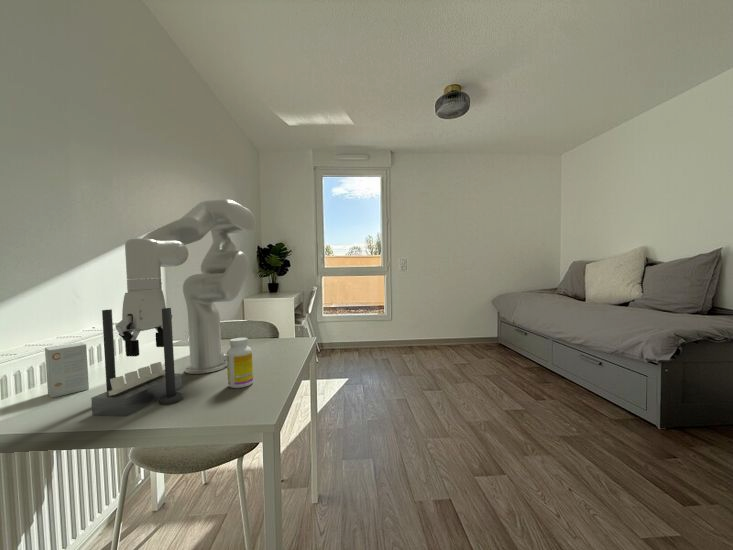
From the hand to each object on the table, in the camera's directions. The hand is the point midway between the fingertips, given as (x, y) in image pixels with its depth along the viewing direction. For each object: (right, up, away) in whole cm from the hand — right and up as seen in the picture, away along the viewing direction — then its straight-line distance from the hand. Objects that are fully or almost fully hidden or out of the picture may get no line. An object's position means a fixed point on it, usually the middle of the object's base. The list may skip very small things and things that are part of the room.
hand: (148, 351), depth 88 cm
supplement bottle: (+22, -11, +6) cm, 25 cm away
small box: (-26, -13, +6) cm, 30 cm away
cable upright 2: (+8, -12, -4) cm, 15 cm away
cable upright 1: (-8, -12, -2) cm, 15 cm away
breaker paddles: (0, -8, -3) cm, 8 cm away
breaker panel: (0, -12, -3) cm, 12 cm away
